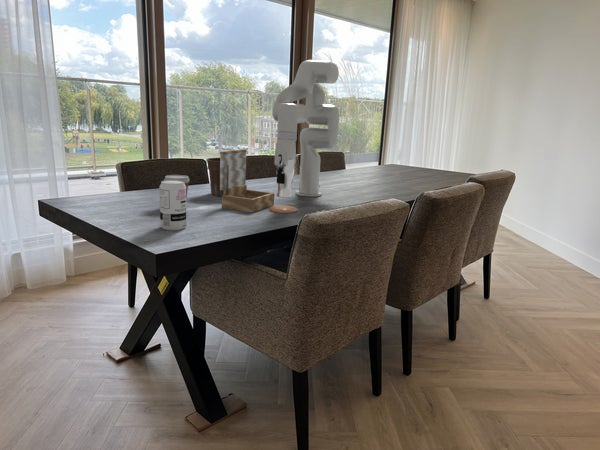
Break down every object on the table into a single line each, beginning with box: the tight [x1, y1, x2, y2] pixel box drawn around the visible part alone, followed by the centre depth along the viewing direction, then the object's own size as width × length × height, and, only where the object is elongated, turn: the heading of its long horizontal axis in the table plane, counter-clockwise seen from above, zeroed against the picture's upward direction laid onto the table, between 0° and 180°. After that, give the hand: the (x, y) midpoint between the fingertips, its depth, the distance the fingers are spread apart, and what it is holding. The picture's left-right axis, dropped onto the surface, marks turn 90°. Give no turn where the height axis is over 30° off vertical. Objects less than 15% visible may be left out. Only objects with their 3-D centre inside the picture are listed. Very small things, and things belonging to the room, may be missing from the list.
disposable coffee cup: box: [163, 174, 190, 200], centre depth 174 cm, size 10×10×12 cm
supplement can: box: [159, 180, 187, 231], centre depth 144 cm, size 8×8×15 cm
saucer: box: [269, 204, 298, 214], centre depth 180 cm, size 11×11×1 cm
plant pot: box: [206, 157, 238, 197], centre depth 204 cm, size 16×16×16 cm
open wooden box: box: [219, 148, 275, 213], centre depth 182 cm, size 18×15×22 cm
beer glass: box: [275, 159, 295, 199], centre depth 177 cm, size 7×7×15 cm
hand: (284, 182), depth 177 cm, fingers closed on beer glass, 6 cm apart
